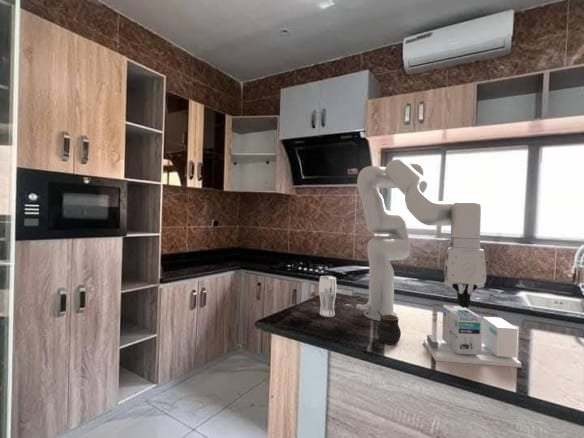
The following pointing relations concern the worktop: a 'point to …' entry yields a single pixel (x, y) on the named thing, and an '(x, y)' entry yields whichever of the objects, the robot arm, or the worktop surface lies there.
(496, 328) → the mounted module
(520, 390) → the worktop surface
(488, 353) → the mounting plate
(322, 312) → the beer glass
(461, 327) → the light bulb box
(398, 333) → the mate gourd
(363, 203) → the robot arm
